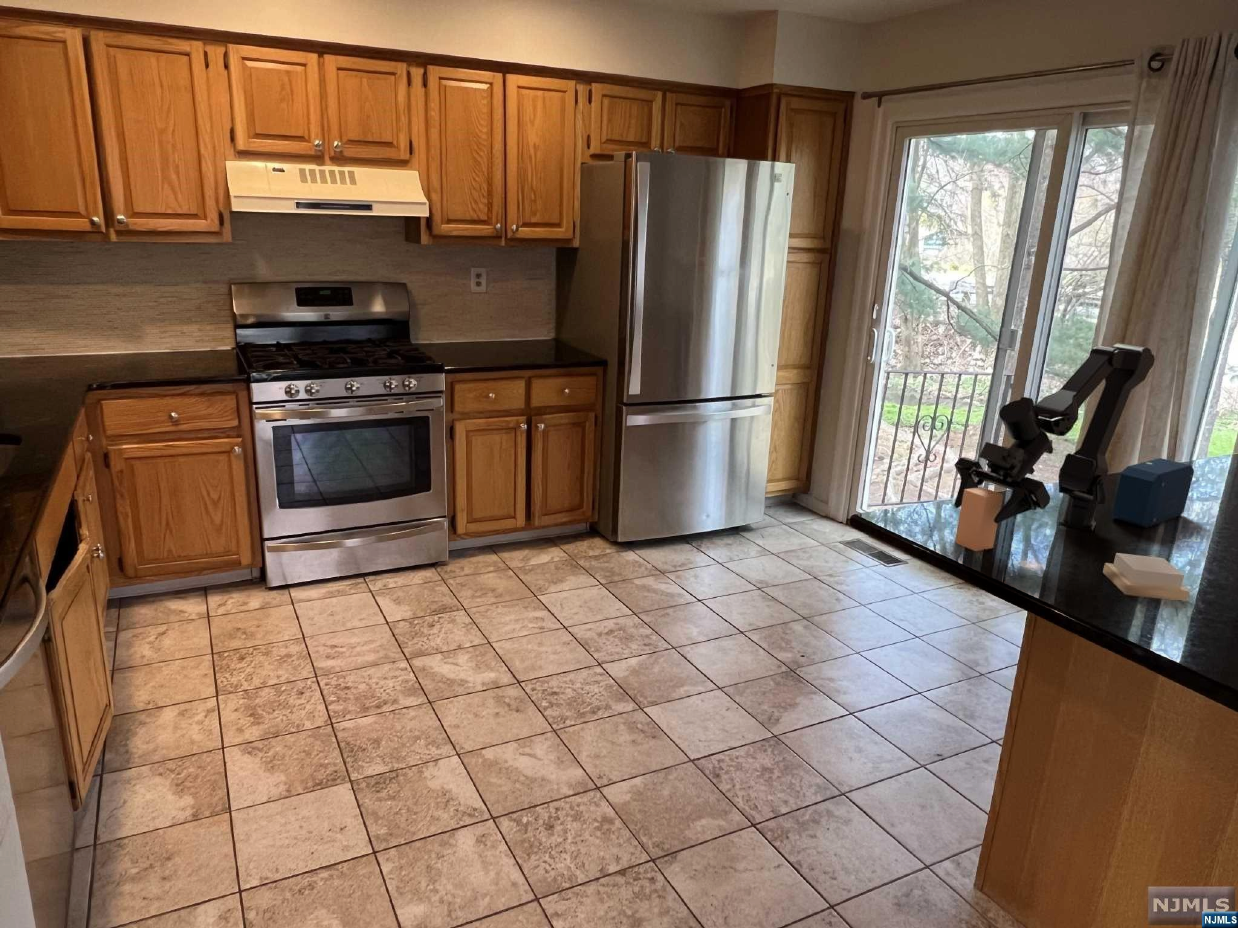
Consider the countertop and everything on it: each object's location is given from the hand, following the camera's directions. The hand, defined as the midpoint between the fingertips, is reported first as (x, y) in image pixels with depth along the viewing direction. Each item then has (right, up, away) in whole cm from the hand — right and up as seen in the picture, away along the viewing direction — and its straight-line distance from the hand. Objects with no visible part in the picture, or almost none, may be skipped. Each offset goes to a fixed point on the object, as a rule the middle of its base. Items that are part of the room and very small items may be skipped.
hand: (974, 514), depth 164 cm
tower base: (+25, -13, -13) cm, 30 cm away
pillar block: (+1, -6, +2) cm, 7 cm away
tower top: (+25, -10, -13) cm, 30 cm away
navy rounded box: (+50, -3, +27) cm, 57 cm away
